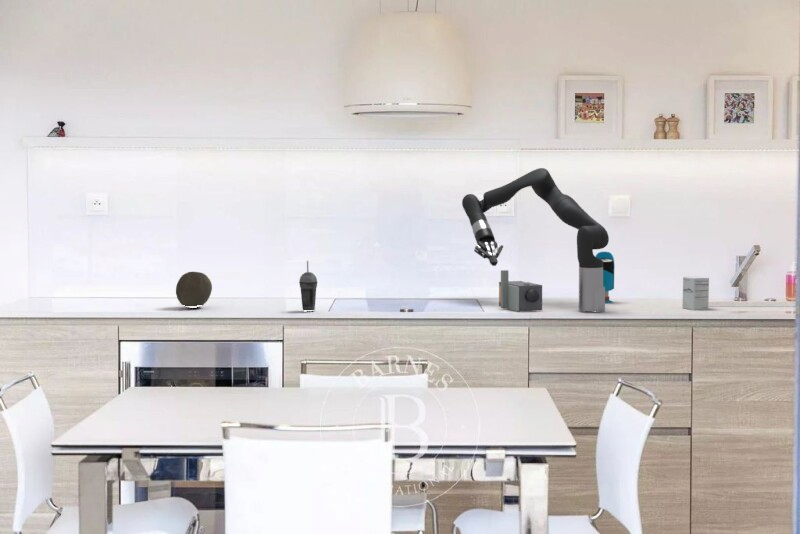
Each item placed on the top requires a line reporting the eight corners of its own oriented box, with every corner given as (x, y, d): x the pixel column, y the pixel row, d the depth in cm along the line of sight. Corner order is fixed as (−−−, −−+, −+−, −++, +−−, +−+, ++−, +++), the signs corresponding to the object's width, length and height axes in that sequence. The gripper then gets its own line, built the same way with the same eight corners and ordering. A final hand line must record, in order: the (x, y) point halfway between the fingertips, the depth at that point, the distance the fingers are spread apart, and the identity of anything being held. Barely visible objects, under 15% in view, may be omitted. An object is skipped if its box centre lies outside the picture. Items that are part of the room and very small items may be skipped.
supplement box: (681, 308, 410) (682, 276, 409) (697, 307, 412) (697, 276, 411) (693, 310, 403) (693, 278, 402) (709, 309, 405) (709, 277, 404)
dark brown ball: (206, 310, 411) (205, 273, 410) (171, 310, 413) (170, 273, 412) (216, 306, 425) (215, 270, 424) (183, 306, 427) (182, 270, 426)
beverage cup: (301, 313, 401) (300, 261, 400) (297, 310, 408) (297, 260, 407) (319, 312, 403) (319, 261, 402) (316, 310, 410) (315, 260, 409)
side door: (500, 308, 409) (500, 270, 408) (508, 308, 411) (508, 270, 409) (511, 311, 400) (511, 272, 399) (519, 310, 401) (519, 272, 400)
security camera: (594, 252, 426) (592, 251, 436) (594, 303, 428) (592, 301, 438) (615, 252, 425) (612, 251, 435) (615, 303, 427) (612, 301, 437)
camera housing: (498, 306, 421) (498, 279, 420) (520, 305, 424) (520, 278, 423) (521, 312, 400) (521, 283, 399) (544, 311, 403) (544, 283, 402)
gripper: (495, 239, 435) (507, 270, 425) (466, 239, 431) (477, 271, 421) (500, 226, 430) (512, 257, 419) (470, 227, 426) (482, 258, 415)
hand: (494, 264), depth 420 cm, fingers closed
